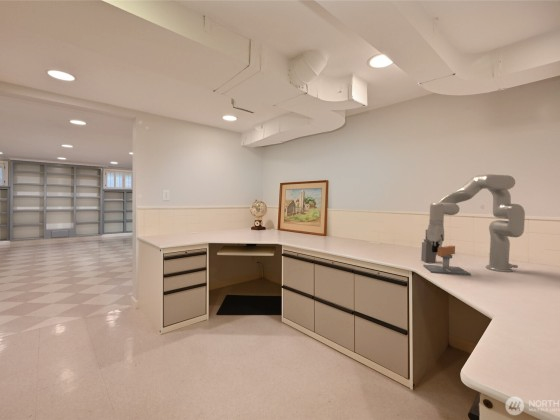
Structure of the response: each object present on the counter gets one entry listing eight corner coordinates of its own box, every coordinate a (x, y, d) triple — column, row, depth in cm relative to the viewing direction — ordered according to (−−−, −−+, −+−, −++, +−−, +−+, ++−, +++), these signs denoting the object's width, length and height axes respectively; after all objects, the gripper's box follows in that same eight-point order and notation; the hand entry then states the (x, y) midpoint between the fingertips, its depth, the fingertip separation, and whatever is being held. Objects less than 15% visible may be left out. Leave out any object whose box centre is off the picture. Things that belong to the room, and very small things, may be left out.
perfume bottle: (431, 260, 187) (432, 236, 186) (435, 263, 181) (436, 237, 180) (421, 260, 188) (422, 235, 187) (425, 262, 181) (426, 237, 180)
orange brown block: (447, 254, 168) (447, 244, 168) (458, 256, 163) (458, 246, 162) (433, 257, 160) (434, 247, 160) (444, 259, 154) (445, 248, 154)
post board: (458, 268, 167) (459, 256, 167) (470, 275, 152) (471, 262, 151) (423, 266, 172) (423, 254, 171) (431, 272, 156) (432, 259, 156)
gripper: (423, 221, 167) (421, 249, 168) (438, 224, 152) (437, 254, 153) (433, 221, 168) (432, 249, 168) (450, 224, 153) (449, 254, 154)
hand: (435, 252), depth 161 cm, fingers closed
